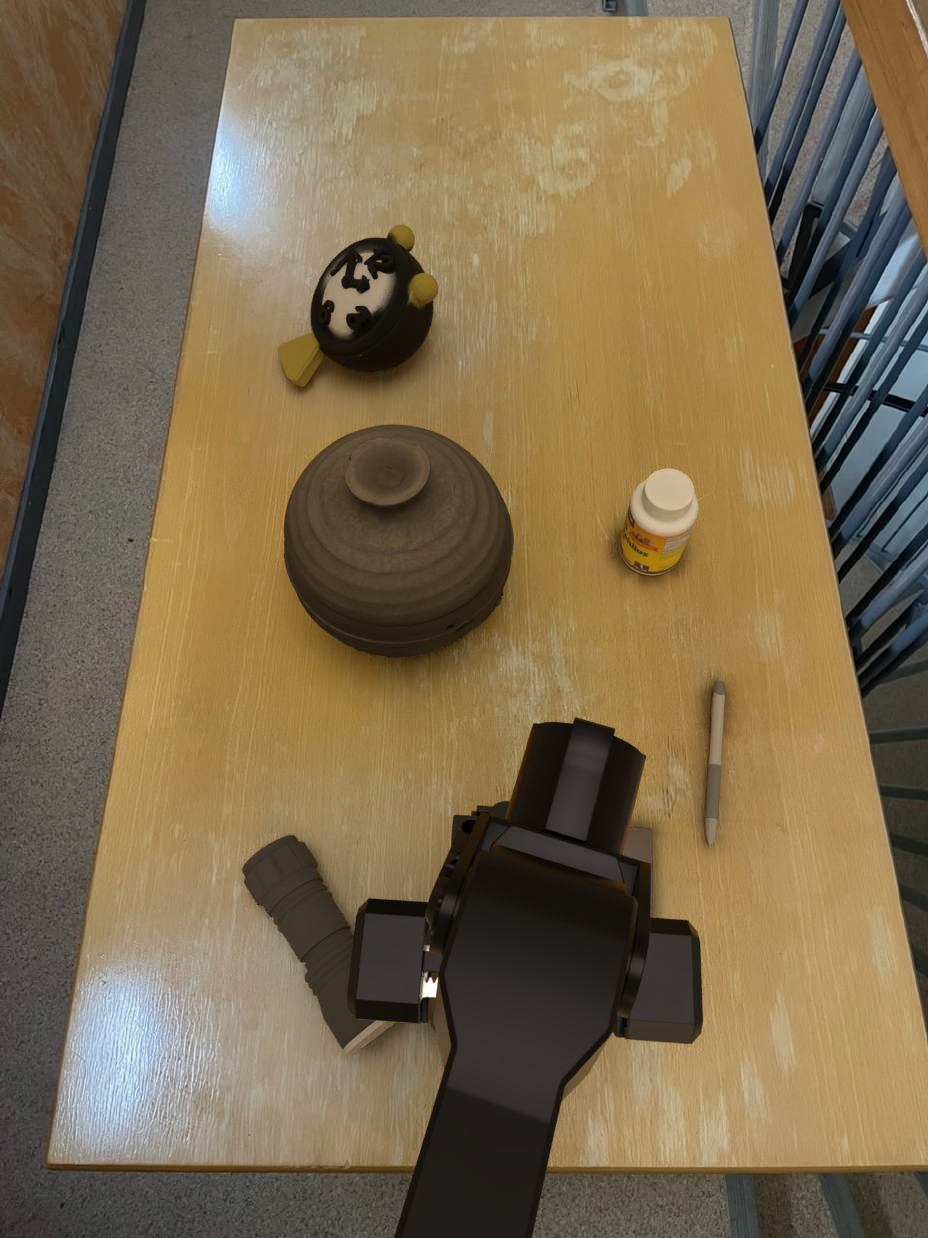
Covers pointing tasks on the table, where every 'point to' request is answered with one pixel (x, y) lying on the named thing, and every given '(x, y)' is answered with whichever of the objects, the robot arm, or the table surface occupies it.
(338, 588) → the pot
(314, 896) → the flashlight
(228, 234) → the table surface
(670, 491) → the supplement bottle
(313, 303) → the alarm clock
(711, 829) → the pen
